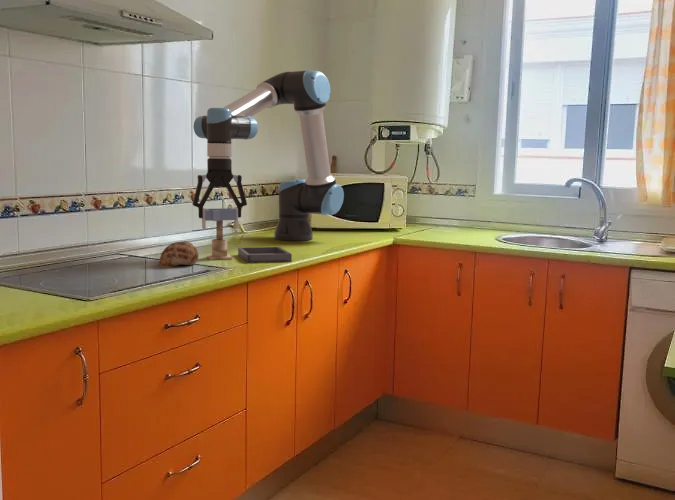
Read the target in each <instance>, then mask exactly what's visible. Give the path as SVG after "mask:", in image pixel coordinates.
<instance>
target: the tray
mask: <svg viewBox="0 0 675 500" xmlns="http://www.w3.org/2000/svg"><path fill="white" fill-rule="evenodd" d="M292 254H293V253H291V252H290V251H288V250H285V249H284V248H282V247H281V246H257V247H256V246H253V247H250V246H249V247H244V246H243V247H237V255H238V257H240V259H241V260H243V261H244V262H246V263H247V264H258V263H257V262H265V263H288V262H289V263H291V262H292V256H293V255H292Z"/></svg>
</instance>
